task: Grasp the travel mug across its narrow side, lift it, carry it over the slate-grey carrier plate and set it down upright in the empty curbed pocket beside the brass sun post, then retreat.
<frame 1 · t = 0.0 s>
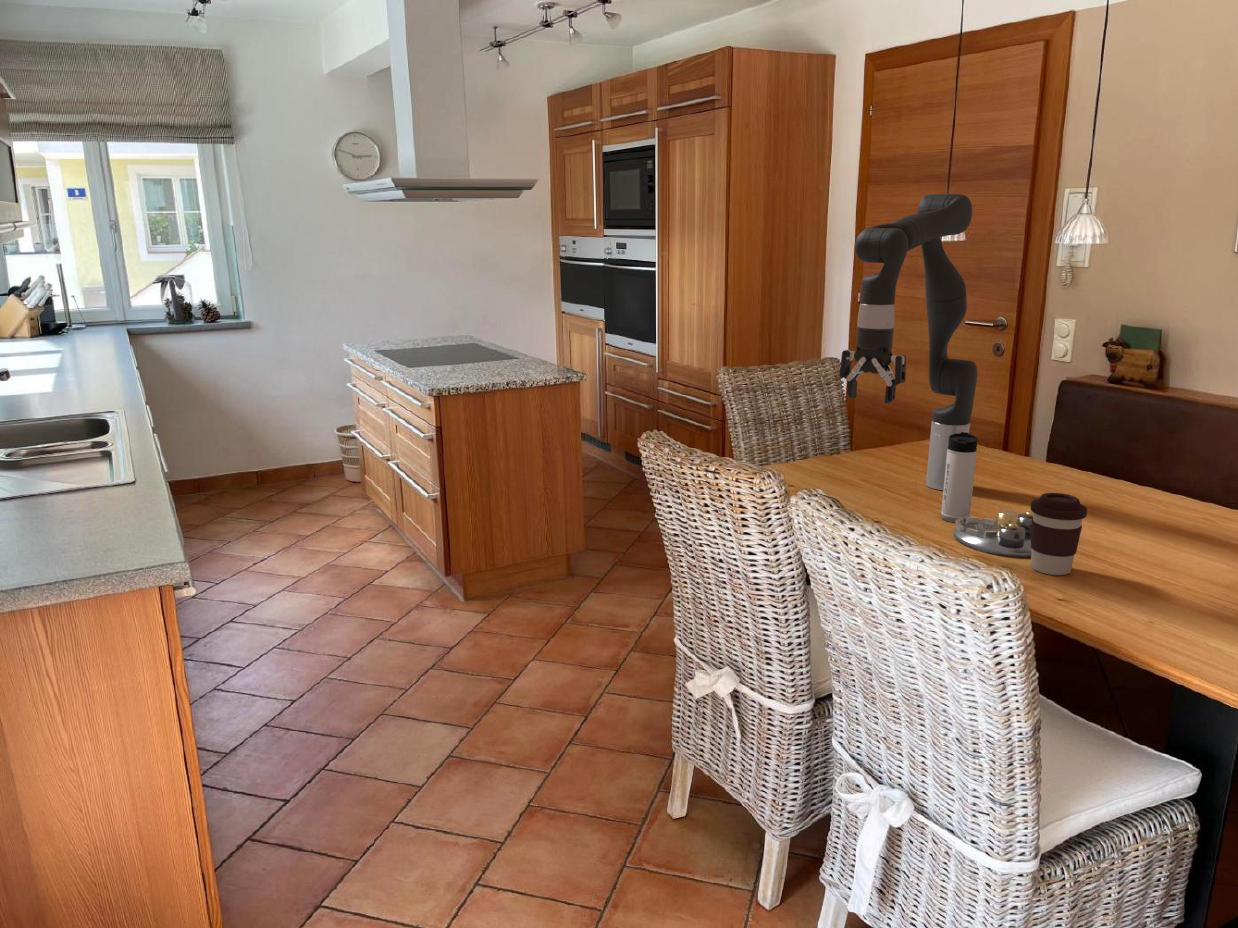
hand: (870, 400, 195), 29 cm above the table, fingers open, 8 cm apart
coffee cup: (1050, 570, 179), on the table
carrier plate: (1004, 540, 195), on the table
travel mug: (955, 519, 210), on the table
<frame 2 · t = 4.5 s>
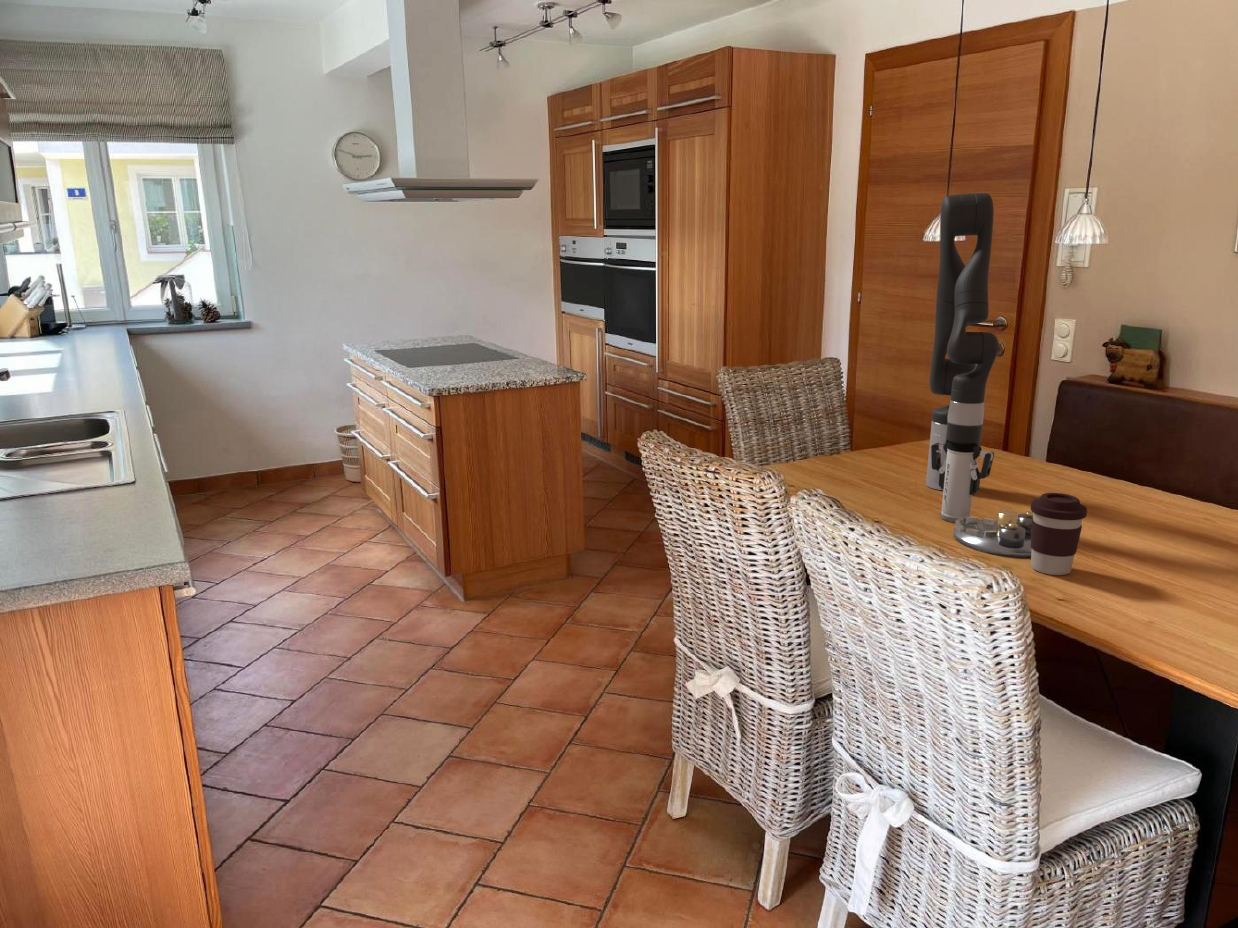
hand: (958, 491, 208), 7 cm above the table, fingers closed on travel mug, 6 cm apart
travel mug: (955, 519, 210), on the table, touching gripper
everything else where it was.
when the fingers open (9 cm above the table, at t = 11.7 s): travel mug drops 1 cm, resting on carrier plate.
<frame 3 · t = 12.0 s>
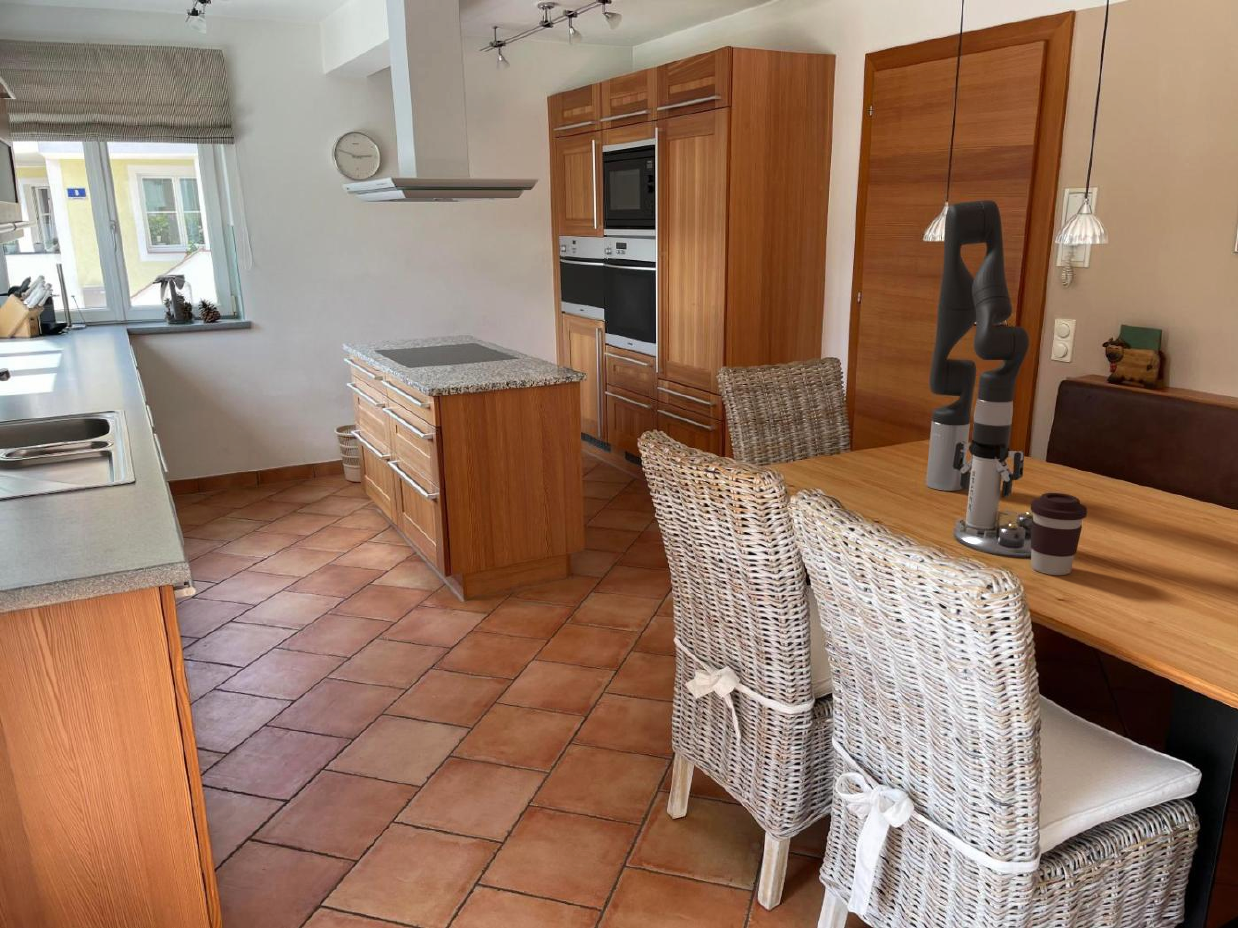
hand: (984, 493, 196), 10 cm above the table, fingers open, 8 cm apart
travel mug: (980, 529, 199), point 1 cm above the table, touching carrier plate
everything else where it was.
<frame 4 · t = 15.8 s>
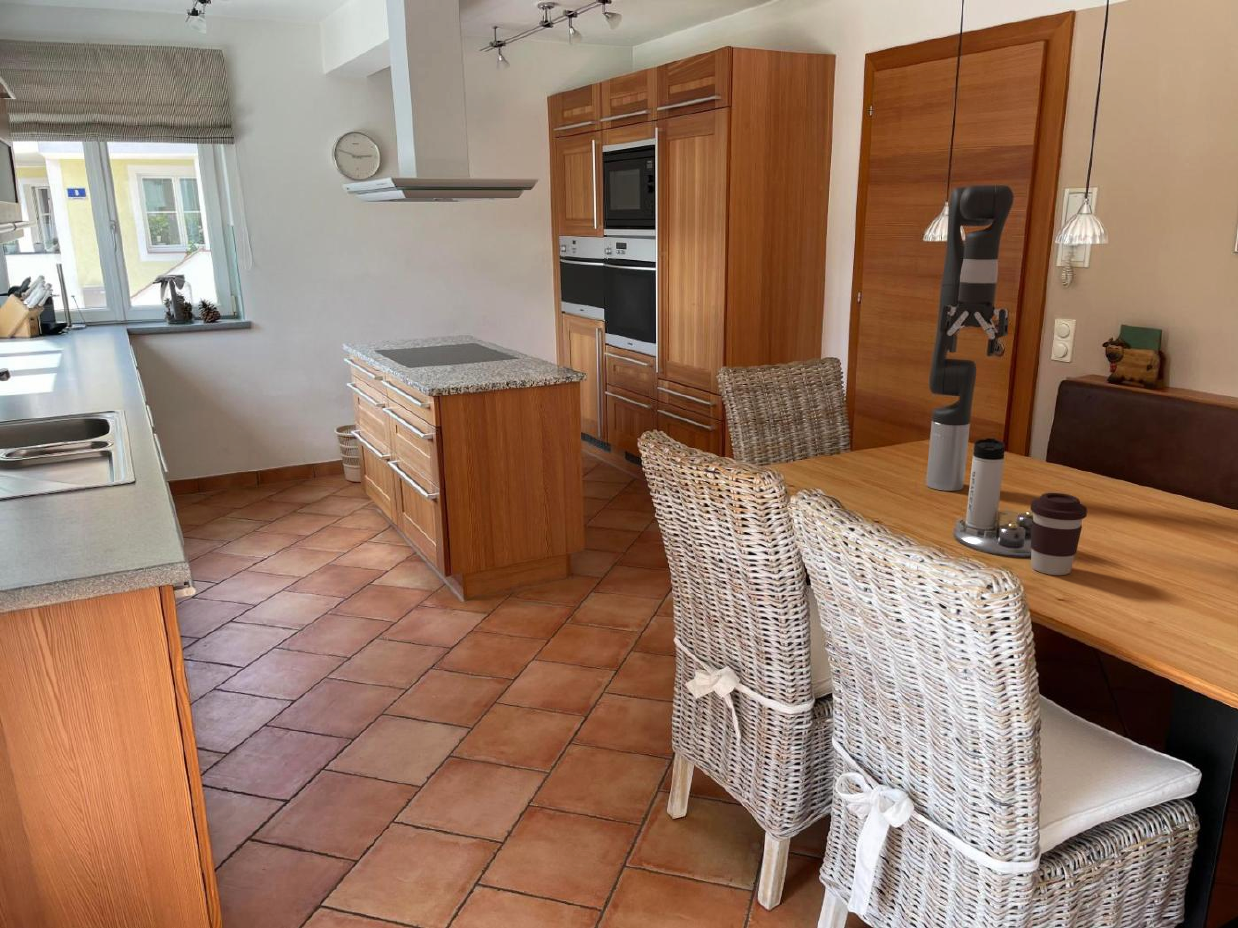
hand: (970, 354, 202), 38 cm above the table, fingers open, 8 cm apart
nothing on the table moved.
at the end: travel mug 0.1 cm from the target spot on the carrier plate, point 1.0 cm above the carrier plate's base; travel mug tilted 0°; the gripper is holding nothing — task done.
